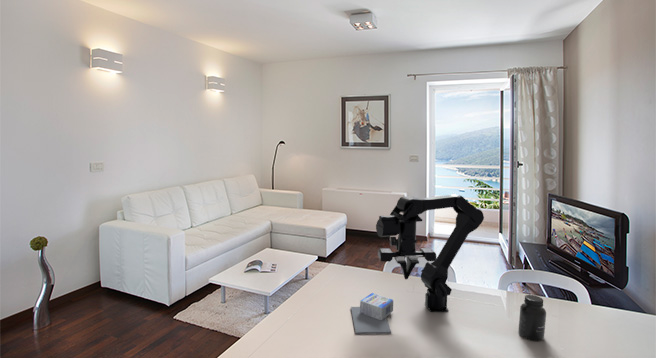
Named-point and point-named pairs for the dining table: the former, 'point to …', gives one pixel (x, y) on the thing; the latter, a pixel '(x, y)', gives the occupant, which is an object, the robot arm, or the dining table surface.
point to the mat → (368, 323)
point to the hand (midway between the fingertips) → (405, 278)
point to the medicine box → (376, 306)
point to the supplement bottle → (532, 318)
